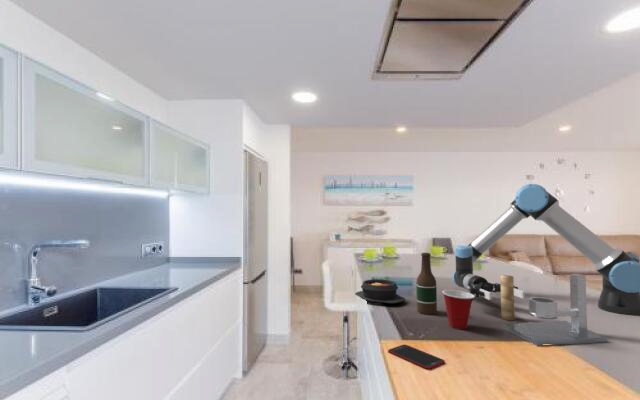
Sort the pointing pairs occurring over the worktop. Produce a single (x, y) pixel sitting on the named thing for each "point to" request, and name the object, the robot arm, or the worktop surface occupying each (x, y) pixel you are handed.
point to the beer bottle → (426, 288)
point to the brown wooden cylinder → (507, 297)
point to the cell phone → (416, 357)
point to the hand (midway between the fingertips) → (507, 295)
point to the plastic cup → (458, 307)
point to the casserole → (380, 291)
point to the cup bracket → (558, 329)
